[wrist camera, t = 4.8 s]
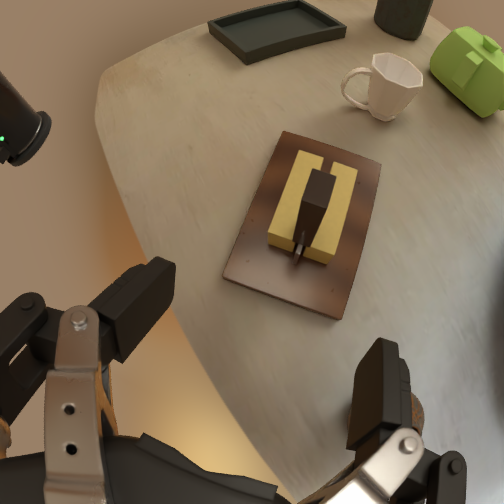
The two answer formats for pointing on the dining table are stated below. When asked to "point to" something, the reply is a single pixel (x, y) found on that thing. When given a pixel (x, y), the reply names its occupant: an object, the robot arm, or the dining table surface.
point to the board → (279, 260)
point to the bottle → (402, 17)
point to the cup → (387, 85)
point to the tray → (275, 29)
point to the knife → (312, 208)
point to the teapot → (471, 70)
